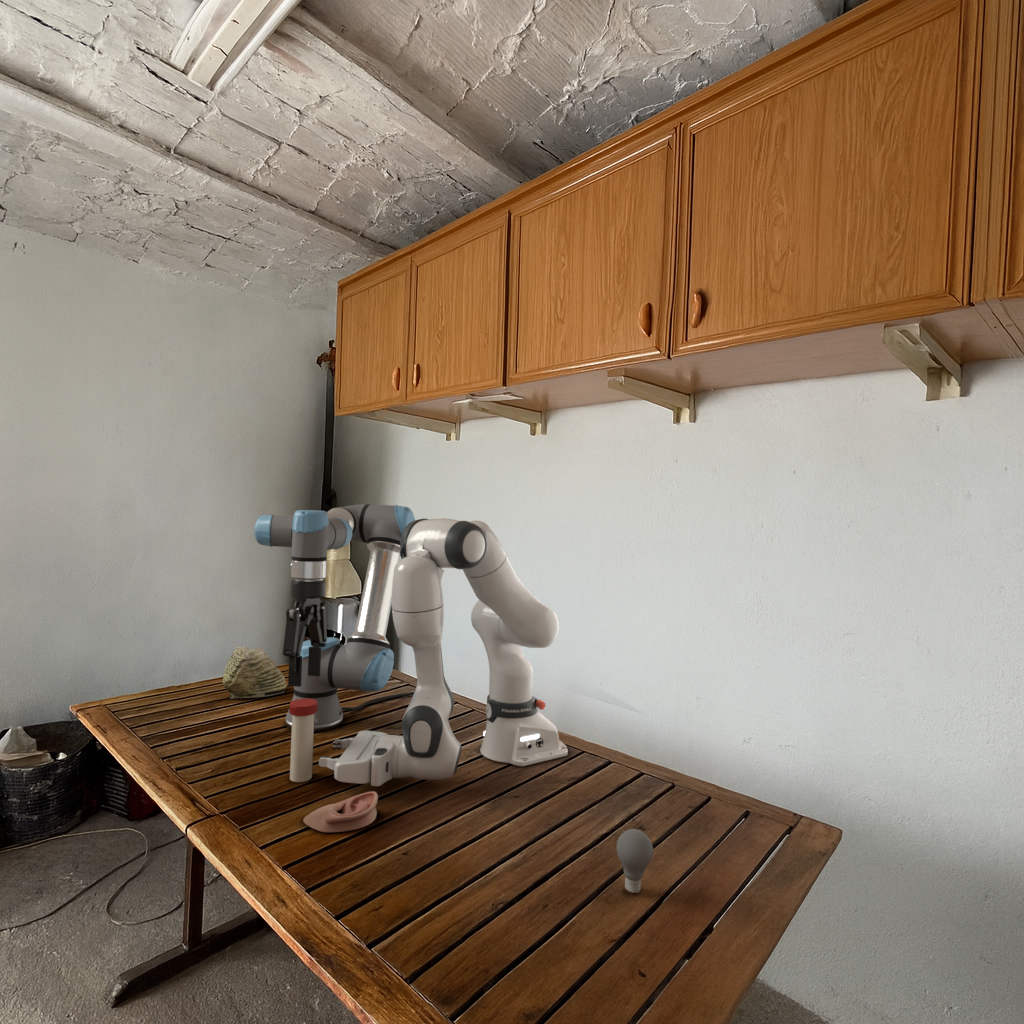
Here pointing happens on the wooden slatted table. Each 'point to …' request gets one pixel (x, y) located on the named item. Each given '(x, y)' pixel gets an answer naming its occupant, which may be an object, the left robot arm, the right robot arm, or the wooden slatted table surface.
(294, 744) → the white cylindrical bottle
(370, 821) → the anatomical model
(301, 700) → the lid
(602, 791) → the wooden slatted table surface
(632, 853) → the light bulb
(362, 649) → the left robot arm
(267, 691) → the fossil
